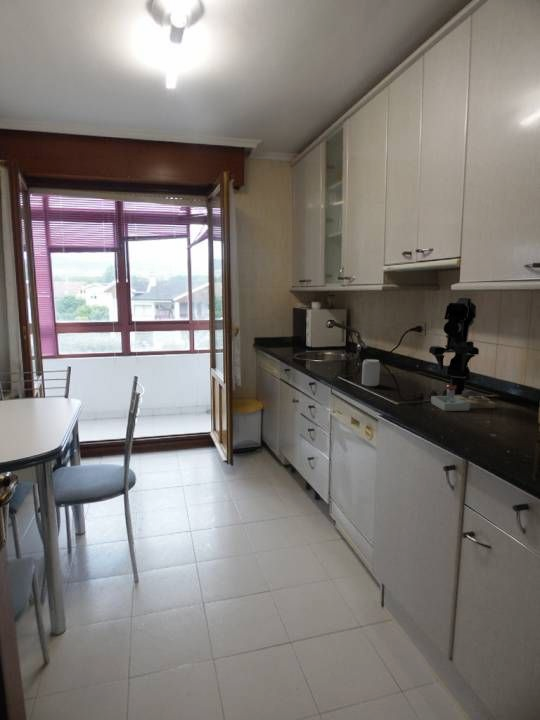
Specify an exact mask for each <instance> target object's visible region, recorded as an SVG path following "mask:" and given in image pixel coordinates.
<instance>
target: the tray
mask: <svg viewBox="0 0 540 720" xmlns="http://www.w3.org/2000/svg"><path fill="white" fill-rule="evenodd" d="M430 397H431V398H430V403H431V404H432V405H434V406H436V407H437V408H439V409H440V410H443V411H444V412H451V411H452V412H453V411H454V412H458V411H462V412H465V411H470V409H471V408H470V403H468V402H466V401H464V400H462V399H460V398H458V397H456V396H454V403H446V399H447V395H431V396H430Z"/></svg>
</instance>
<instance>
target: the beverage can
mask: <svg viewBox="0 0 540 720" xmlns="http://www.w3.org/2000/svg"><path fill="white" fill-rule="evenodd" d="M361 370H362V371H361V385H363V386H365V387H377V386H379V384H380V372H381V371H380V370H381V363H380V360H379V359H373V358H372V359H371V358H367V359H363V361H362V368H361Z"/></svg>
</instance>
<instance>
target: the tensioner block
mask: <svg viewBox="0 0 540 720" xmlns="http://www.w3.org/2000/svg"><path fill="white" fill-rule="evenodd" d="M478 393H479V392H477V391H474V390H470V389H467V390H464V391H462V393H461V394H454V396H456V397H458V398H460V399H462V400H464V401H466V402H468V403H470V408H469V409H495V408H496V403H495V402H494V401H492V400H490V398H488V397H486V396H483V395H479V394H478Z"/></svg>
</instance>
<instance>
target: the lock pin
mask: <svg viewBox="0 0 540 720" xmlns="http://www.w3.org/2000/svg"><path fill="white" fill-rule="evenodd" d="M445 388H446V396H447V399H446V403H454V395H456V394H455V389H456V385H451V383H449V384H446V385H445Z"/></svg>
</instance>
